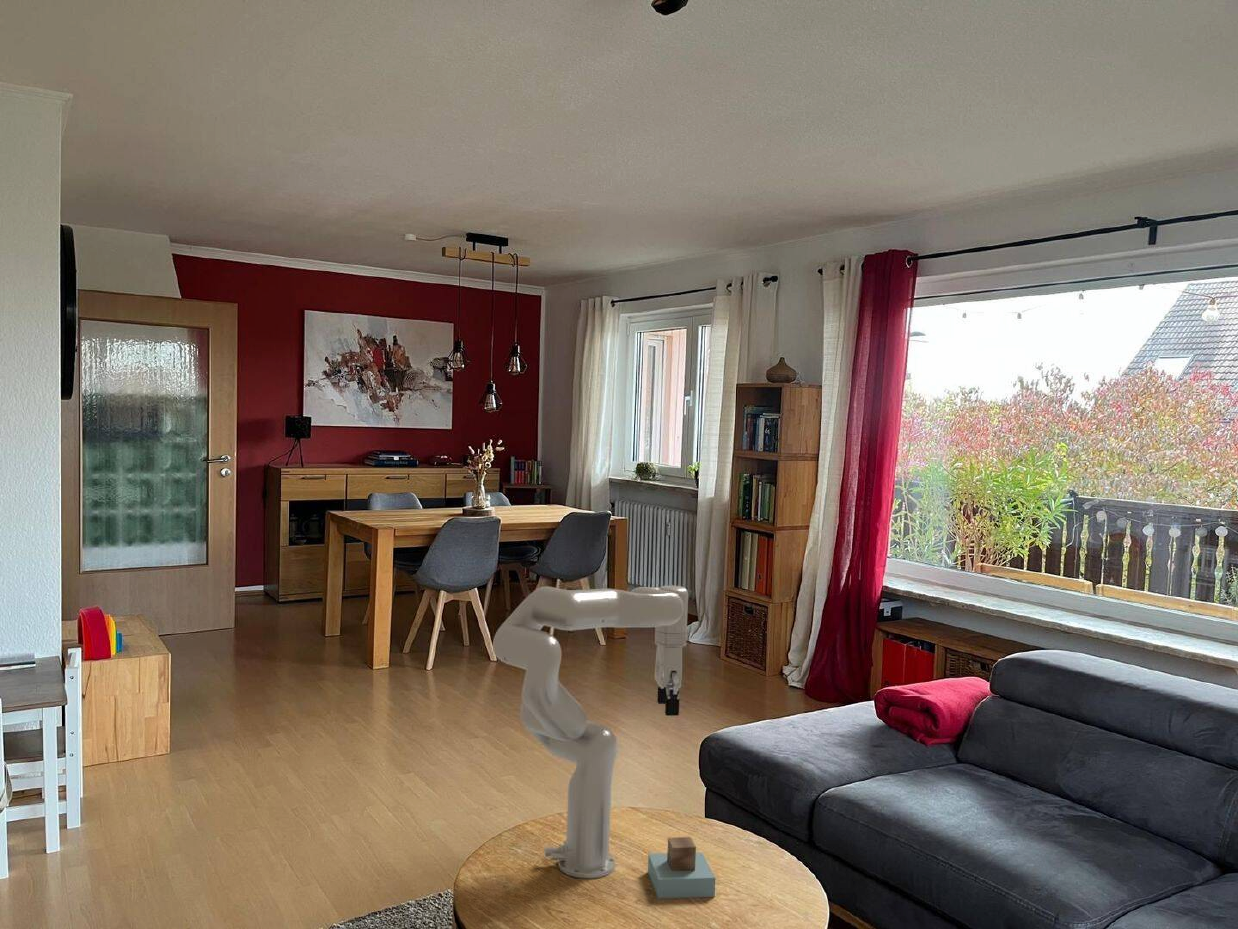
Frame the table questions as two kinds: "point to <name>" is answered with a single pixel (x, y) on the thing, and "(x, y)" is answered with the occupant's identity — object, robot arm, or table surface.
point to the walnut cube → (681, 854)
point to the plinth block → (681, 878)
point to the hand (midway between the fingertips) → (667, 709)
